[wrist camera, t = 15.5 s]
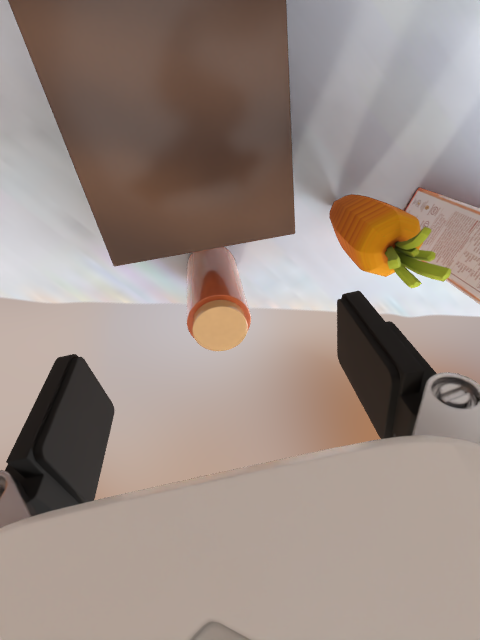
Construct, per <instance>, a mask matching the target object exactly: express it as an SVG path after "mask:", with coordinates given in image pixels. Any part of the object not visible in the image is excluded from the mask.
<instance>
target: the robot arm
mask: <svg viewBox="0 0 480 640" xmlns="http://www.w3.org/2000/svg"><path fill="white" fill-rule="evenodd" d="M337 330H338V331H337V346H338V347H337V348H338V349H337V350H338V351H337V352H338V359H339V362H340V364H341V366H342V368H343V370H344V372H345V374H346V375H347V377H348V379H349V381H350V383H351V385H352V387H353V388H354V390H355V392H356V394H357V396H358V398H359V400H360V402H361V403H362V405H363V407H364V409H365V411H366V412H367V414H368V416H369V418H370V420H371V422H372V424H373V426H374V428H375V429H376V431H377V433H378V435H379V436H380V438H381V439H379V440H373V441H368V442H363V443H357V444H352V445H347V446H342V447H337V448H332V449H327V450H322V451H317V452H313V453H308V454H304V455H299V456H294V457H289V458H284V459H280V460H276V461H270V462H266V463H261V464H256V465H252V466H247V467H243V468H239V469H233V470H229V471H224V472H220V473H215V474H211V475H206V476H202V477H197V478H193V479H189V480H183V481H179V482H175V483H170V484H165V485H161V486H157V487H152V488H147V489H143V490H139V491H134V492H130V493H125V494H121V495H116V496H112V497H108V498H103V499H99V500H94V498H95V494H96V490H97V485H98V481H99V477H100V472H101V468H102V464H103V460H104V455H105V451H106V446H107V442H108V438H109V434H110V429H111V425H112V421H113V416H114V406H113V404H112V402H111V400H110V399H109V397H108V396H107V394H106V393H105V391H104V390H103V388H102V386H101V385H100V383H99V382H98V380H97V379H96V377H95V375H94V374H93V372H92V371H91V369H90V368H89V366H88V365H87V363H86V361H85V360H84V359H83V358H82V357H78V356H77V355H76V354H72V355H68V356H64V357H59V358H57V359H56V361H55V363H54V365H53V367H52V369H51V371H50V373H49V375H48V377H47V379H46V381H45V384H44V385H43V387H42V389H41V391H40V394H39V396H38V398H37V400H36V402H35V404H34V406H33V408H32V410H31V412H30V414H29V416H28V418H27V420H26V423H25V424H24V426H23V428H22V431H21V433H20V435H19V437H18V439H17V441H16V443H15V445H14V447H13V449H12V451H11V453H10V455H9V457H8V459H7V461H6V462H7V463H8V466H7V467H6V470H5V471H3V470H0V640H480V385H479V384H478V383H477V382H475V381H474V380H472V379H470V378H468V377H466V376H463V375H460V374H456V373H439V374H436V372H435V371H434V370H433V369H432V368H431V367H430V365H429V364H428V363H427V362H426V361H425V359H424V358H423V357H422V356H421V355H420V354H419V353H418V351H417V350H416V349H415V348H414V347H413V345H412V344H411V343H410V342H409V341H408V340H407V338H406V337H405V336H404V335H403V334H402V333H401V331H400V330H399V329H398V328H397V327H396V326H395V324H393V323H392V322H385V321H384V320H383V318H382V317H381V316H380V315H379V314H378V312H377V311H376V310H375V309H374V308H373V306H372V305H371V304H370V303H369V301H368V300H367V299H366V298H365V297H364V295H363V294H362V293H361V292H360V291H355V292H351V293H346V294H343V295H342V299H338V301H337Z"/></svg>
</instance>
